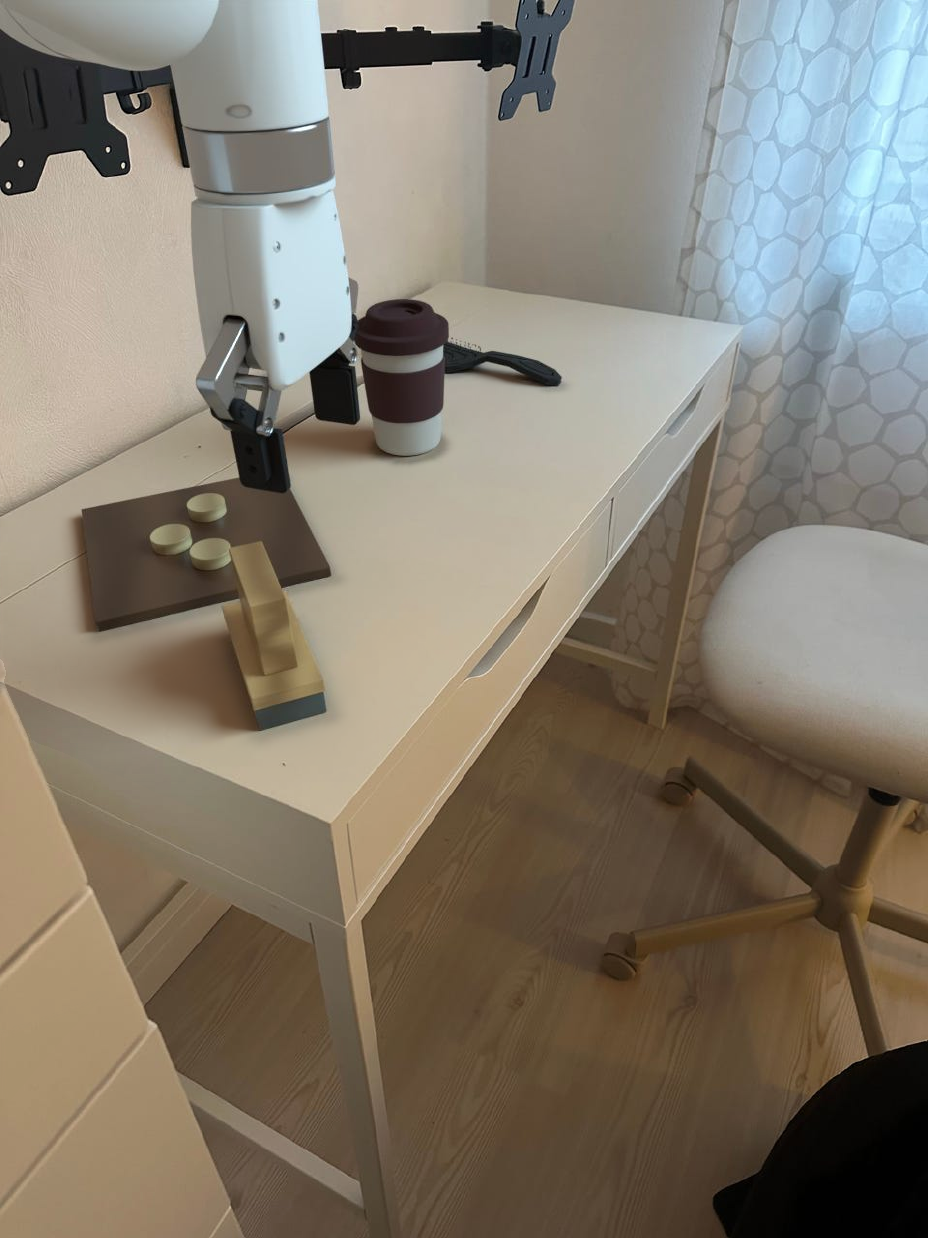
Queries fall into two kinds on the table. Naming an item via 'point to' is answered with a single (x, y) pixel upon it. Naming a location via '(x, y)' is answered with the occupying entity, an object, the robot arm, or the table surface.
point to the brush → (271, 643)
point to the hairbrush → (497, 362)
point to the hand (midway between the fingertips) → (304, 452)
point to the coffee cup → (404, 373)
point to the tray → (168, 584)
